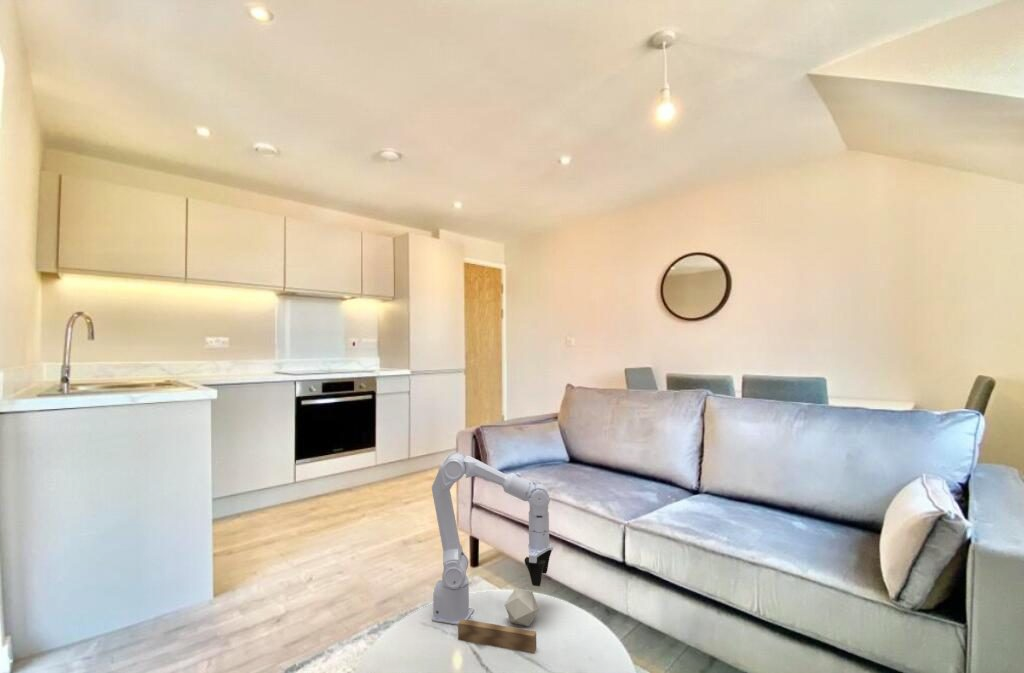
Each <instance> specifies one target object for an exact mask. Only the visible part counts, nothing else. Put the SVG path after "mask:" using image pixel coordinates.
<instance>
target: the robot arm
mask: <svg viewBox="0 0 1024 673" xmlns="http://www.w3.org/2000/svg"><path fill="white" fill-rule="evenodd" d="M464 475H465V479H468V478H473V477H479V478H482V479H484V480H487V481H489V482H492V483H494V484H497V485H499V486H501V487H502V489H503V492H504V493H506V494H508V495H511V496H513V497H515V498H517V499H519V500H521V501H524V502H527V503H528V504H529V511H528V553H529V554H528V556H526V557H525V558H524V564H525V567H526V568H527V570H528V572H529V577H530V581H531V586H535V587H541V583H542V576H543V574H546V575H547V573H548V570H549V569H548V568H549V562H550V557H551V554H552V551H553V550H554V547H555V546H554V545H553V544H550V518H549V516H550V512H549V504H550V500H551V498H550V495H549V492H548V489H547V487H546V486H545V485H544V484H542V483H541V482H539V481H538V482H537V481H536V480H534V479H533V480H529V479H527V478H525V477H523V476H522V473H520V472H518V471H517V472H516V473H514V472H510V473H508V474H506V473H504V472H502V471H500V470H498V469H497V468H494V467H492V466H491V465H488V464H486V463H485V462H483V461H480V460H479V459H476V458H474V457H473V456H470V455H465V454H464V453H462V452H457V451H456V452H453V453H451V454H450V455H448V457H447V458H446V459H445V460H444V461H443V463H442V464H441V466H440V467H439V468H438V471H437V474H436V476H435V479H434V481H433V483H432V486H431V492H432V498H433V503H434V508H435V514H436V518H437V520H436V521H437V525H438V529H439V534H440V535H439V536H440V541H441V546H442V566H443V571H442V574H441V575H442V576H441V579H440V580H438V581H437V582H436V584H435V586H434V590H433V594H432V595H433V597H432V598H433V602H432V607H433V608H432V610H433V611H432V612H433V613H432V614H433V616H432V618H431V620H432V621H433V622H439V623H444V624H451V625H456V626H458V623H459V621H460V620H461V619H465V620H469V618H470V617H471V615H472V614H473V613H474V611H475V608H471V607H470V605H469V604H470V597H469V594H470V592H469V591H470V589H469V587H470V585H469V582H470V581H469V577H468V576H467V569H468V567H469V558H468V557H467V555H466V554H465V553H464V550H463V546H462V544H461V542H460V538H459V537H460V535H459V532H458V526H457V520H456V516H455V511H454V510H455V509H454V504H453V500H452V499H453V498H452V494H451V489H452V487H453V486H454V484H455V483H457V482H459V480H461V479H462V478H463V476H464Z"/></svg>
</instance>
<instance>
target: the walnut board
mask: <svg viewBox="0 0 1024 673" xmlns="http://www.w3.org/2000/svg"><path fill="white" fill-rule="evenodd" d="M457 634H458V635H457V636H458V638H457V639H458V640H457V641H464V642H470V643H475V644H480V645H484V646H485V645H486V646H491V647H497V648H500V649H501V648H502V649H508V650H512V651H518V652H524V653H531V654H535V653H536V650H537V631H536V630H530V629H525V628H518V627H511V626H507V625H500V624H494V623H489V622H483V621H477V620H470V619H468V620H465V619H461V620H460V621H459V623H458V625H457Z"/></svg>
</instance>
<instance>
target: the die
mask: <svg viewBox="0 0 1024 673" xmlns="http://www.w3.org/2000/svg"><path fill="white" fill-rule="evenodd" d="M504 607H505V609H506V612H507V614H508V618H509V620H510V622H511V624H515V625H520V626H525V627H527V628H528V627H530V625H531V624H532V623H533V620H534V619H535V617H536V616H537V613H538V612H539V610H540V608H539V605H538V603H537V601H536V597H535V595H534V592H533V591H531V590H526V589H521V588H517V587H515V588H514V590H513V591H512V593H511V594H510V596H509V597H508V599H507V600H506V602H505V604H504Z"/></svg>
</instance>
